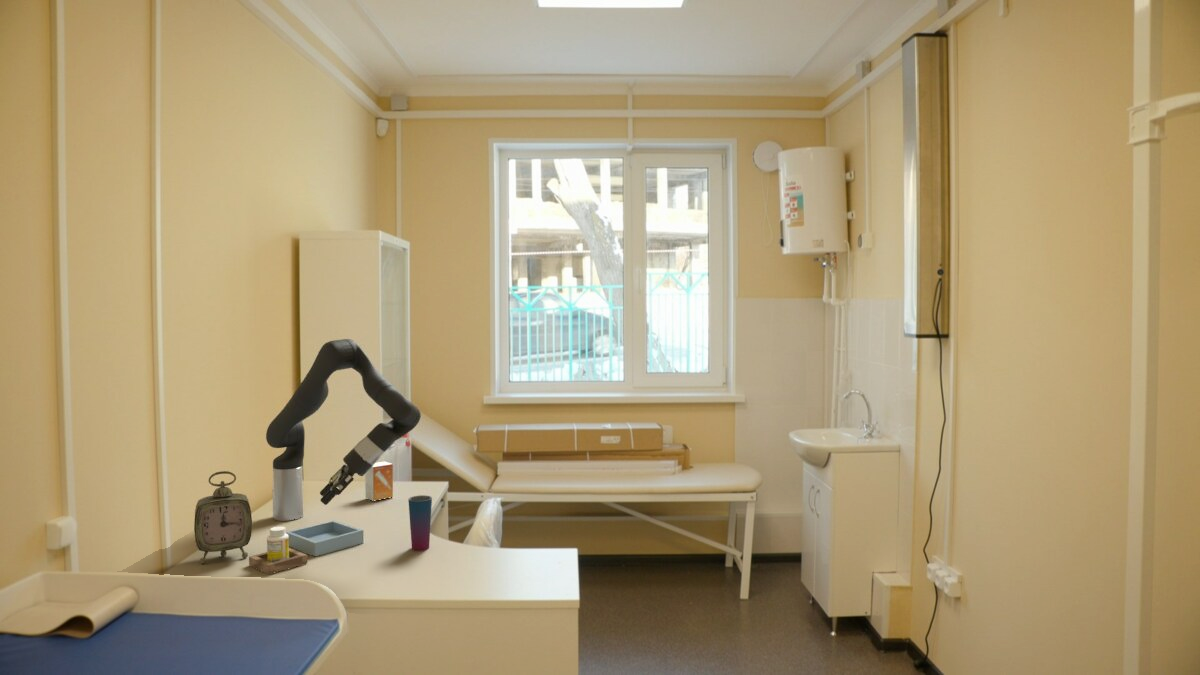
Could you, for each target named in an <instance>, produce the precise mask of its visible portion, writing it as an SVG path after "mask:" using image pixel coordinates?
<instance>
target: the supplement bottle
mask: <svg viewBox="0 0 1200 675" xmlns="http://www.w3.org/2000/svg"><path fill="white" fill-rule="evenodd" d="M286 532H287V531H286V527H285V526H274V527H271V528H270V529H269V535H268V536H267V538H266V550H267V551H266V552H267V558H268V561H269V562H271V563H273V562H276V561H280V560H284V559H287V558H289V548H290V547H289V536H288V534H286Z"/></svg>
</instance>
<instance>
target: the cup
mask: <svg viewBox="0 0 1200 675" xmlns="http://www.w3.org/2000/svg"><path fill="white" fill-rule="evenodd" d="M432 500H433V497H432V496H430V495H426V494H425V495H424V494H423V495H421V494H420V495H419V494H418V495H413V496H410V497H409V498H408V512H409V513H408V514H409V524H410V525H409V528H410V539H411V540H410V541H411V543H410V544H411V550H412V551H416V552H417V551H418V552H420V551H426V550H428V549H429V548H430V539H431V538H430V537H431V521H432V505H433V502H432Z"/></svg>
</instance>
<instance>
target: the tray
mask: <svg viewBox="0 0 1200 675" xmlns="http://www.w3.org/2000/svg"><path fill="white" fill-rule="evenodd" d="M286 534H288V536H289V546H290V547H289V548H291V547H293V548H292V549H294V548H295V549H294V550H296V549H298V550H297V551H299V550H300V551H299V552H301V551H303V552H302V553H304V552H306V553H305V554H307V553H308V554H307V555H309V554H310V556H312V555H313V556H312V557H314V556H316V557H320V556H323V555H326V554H330V553H333V552H337V551H340V550H344V549H348V548H351V547H355V546H358V544H359V545H361V543H362V544H364V529H361V528H358V527H355V526H353V525H352V526H351V525H349V524H345V523H343V522H340V521H336V520H335V519H334V520H329V521H326V522H322V523H318V524H314V525H310V526H309V525H308V526H305V527H301V528H297V529H293V530H290V531H286ZM319 555H320V556H319Z"/></svg>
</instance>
